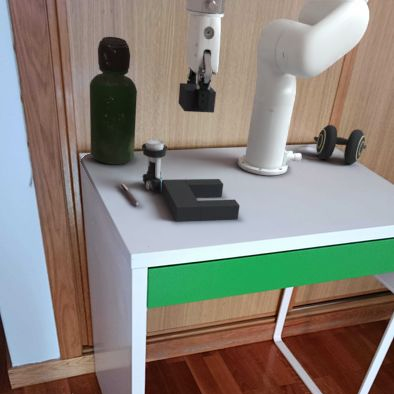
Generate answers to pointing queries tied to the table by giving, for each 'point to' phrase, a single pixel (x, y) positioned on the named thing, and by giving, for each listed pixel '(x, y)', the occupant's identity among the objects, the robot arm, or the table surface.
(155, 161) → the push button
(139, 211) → the table surface
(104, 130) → the green bottle
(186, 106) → the small black block
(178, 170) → the table surface
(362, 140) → the black dumbbell
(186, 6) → the robot arm
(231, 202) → the black u-shaped block
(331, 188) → the table surface
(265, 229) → the table surface
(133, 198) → the pen
